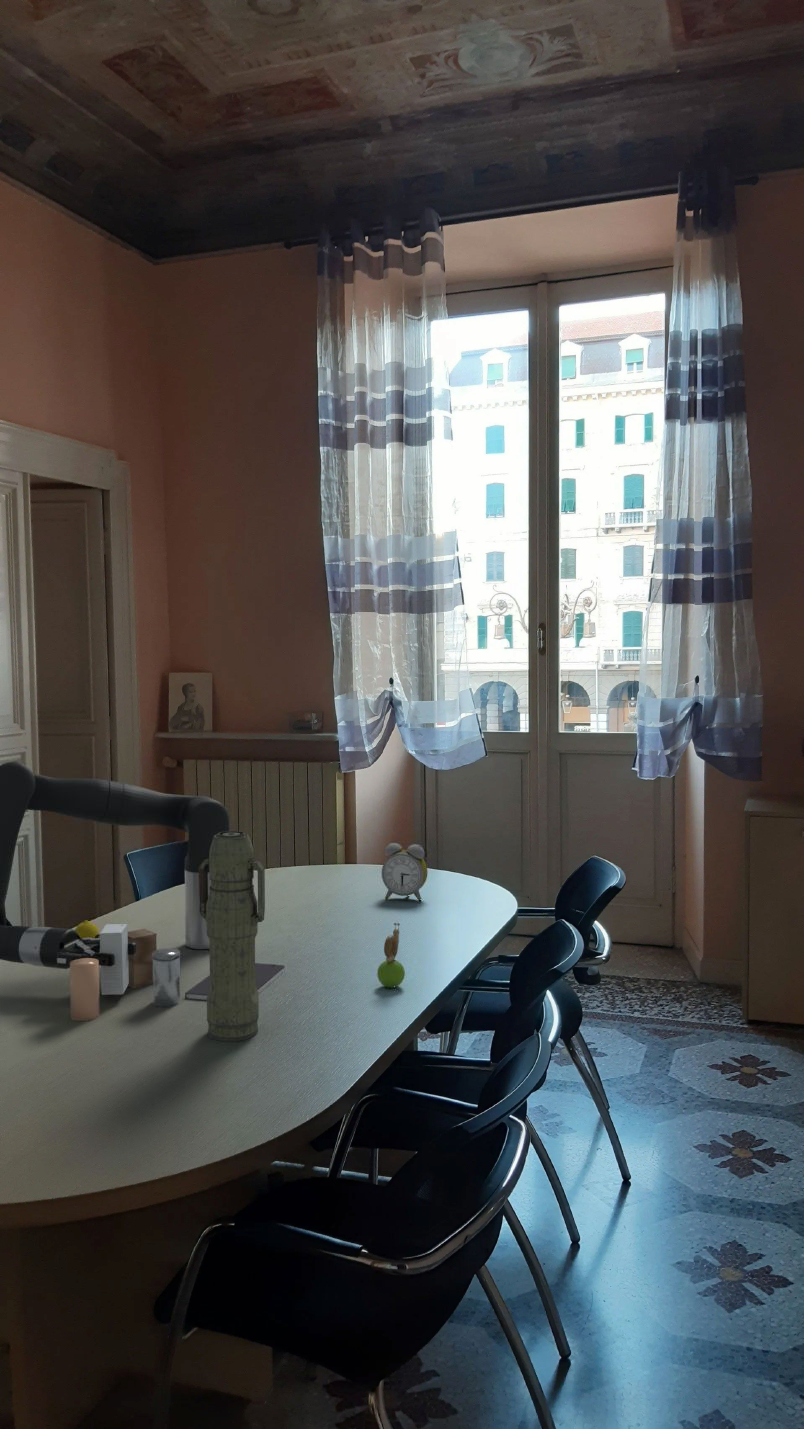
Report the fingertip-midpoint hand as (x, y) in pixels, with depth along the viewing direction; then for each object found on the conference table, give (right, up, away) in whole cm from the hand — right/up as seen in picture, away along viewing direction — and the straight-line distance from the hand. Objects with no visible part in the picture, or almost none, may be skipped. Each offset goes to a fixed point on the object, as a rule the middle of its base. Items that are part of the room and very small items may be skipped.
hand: (124, 954), depth 201 cm
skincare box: (-2, -7, +1) cm, 8 cm away
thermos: (+23, -10, -17) cm, 30 cm away
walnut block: (0, -8, +11) cm, 13 cm away
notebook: (+20, -9, +10) cm, 24 cm away
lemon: (-16, -7, +28) cm, 33 cm away
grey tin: (+8, -9, -1) cm, 12 cm away
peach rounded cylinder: (-5, -9, -9) cm, 14 cm away
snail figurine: (+51, -8, +9) cm, 52 cm away
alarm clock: (+54, -4, +81) cm, 97 cm away
